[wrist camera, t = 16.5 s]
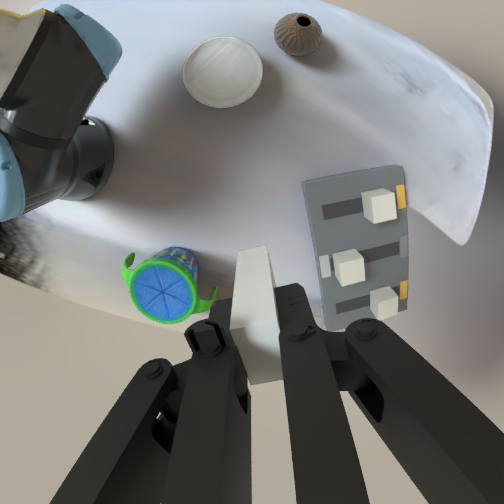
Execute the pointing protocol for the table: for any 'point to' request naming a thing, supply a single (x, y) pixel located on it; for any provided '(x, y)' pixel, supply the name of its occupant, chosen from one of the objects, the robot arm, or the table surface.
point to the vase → (298, 34)
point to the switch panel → (357, 241)
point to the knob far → (384, 303)
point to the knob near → (379, 205)
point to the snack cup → (166, 286)
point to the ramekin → (222, 72)
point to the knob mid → (349, 267)
